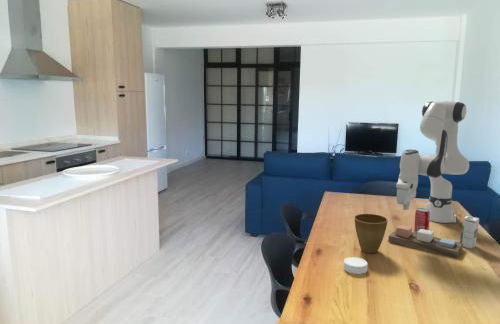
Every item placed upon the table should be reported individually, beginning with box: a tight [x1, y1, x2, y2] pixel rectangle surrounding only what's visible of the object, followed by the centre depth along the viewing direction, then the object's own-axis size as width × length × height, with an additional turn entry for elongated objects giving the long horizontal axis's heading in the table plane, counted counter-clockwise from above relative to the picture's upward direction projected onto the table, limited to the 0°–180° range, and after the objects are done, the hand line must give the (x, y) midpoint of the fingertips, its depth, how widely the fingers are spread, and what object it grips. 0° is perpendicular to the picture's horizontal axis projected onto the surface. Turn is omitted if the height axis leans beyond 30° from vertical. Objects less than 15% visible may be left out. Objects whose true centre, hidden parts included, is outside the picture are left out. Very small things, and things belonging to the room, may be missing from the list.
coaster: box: [342, 256, 369, 275], centre depth 160 cm, size 10×10×4 cm
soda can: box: [413, 207, 431, 233], centre depth 202 cm, size 7×7×13 cm
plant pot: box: [354, 213, 388, 254], centre depth 178 cm, size 15×15×16 cm
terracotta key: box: [395, 224, 413, 238], centre depth 191 cm, size 6×6×4 cm
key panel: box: [387, 229, 463, 259], centre depth 186 cm, size 13×31×3 cm, turn 52°
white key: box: [417, 229, 434, 243], centre depth 185 cm, size 6×6×4 cm
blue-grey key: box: [439, 237, 457, 248], centre depth 180 cm, size 6×6×4 cm
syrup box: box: [459, 215, 480, 250], centre depth 184 cm, size 6×6×14 cm
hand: (405, 209), depth 189 cm, fingers closed
